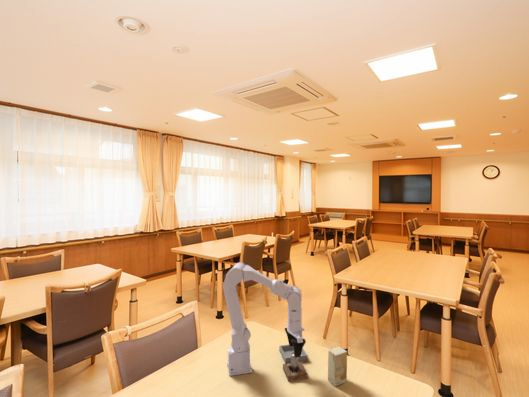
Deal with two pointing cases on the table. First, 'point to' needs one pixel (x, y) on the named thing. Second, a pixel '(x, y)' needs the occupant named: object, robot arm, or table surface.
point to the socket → (296, 375)
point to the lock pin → (294, 363)
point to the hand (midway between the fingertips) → (294, 350)
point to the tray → (286, 354)
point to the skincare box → (337, 366)
